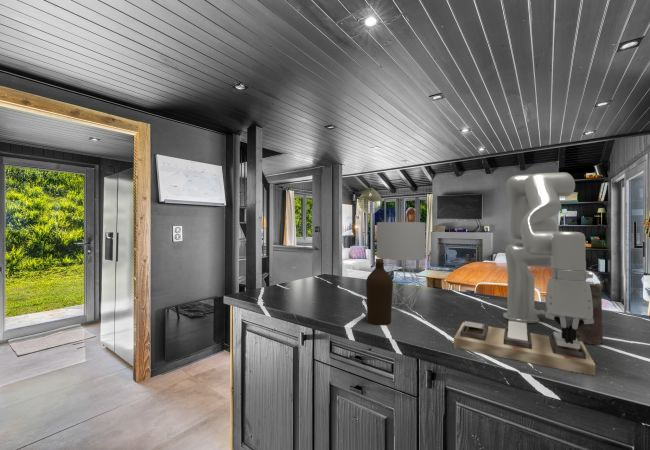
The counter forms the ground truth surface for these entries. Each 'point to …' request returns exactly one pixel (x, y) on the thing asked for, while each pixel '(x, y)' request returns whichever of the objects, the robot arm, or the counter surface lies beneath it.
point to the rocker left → (475, 325)
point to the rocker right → (561, 341)
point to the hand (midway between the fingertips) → (568, 341)
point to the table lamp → (401, 247)
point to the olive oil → (379, 295)
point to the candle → (593, 331)
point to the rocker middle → (517, 331)
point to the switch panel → (524, 348)
